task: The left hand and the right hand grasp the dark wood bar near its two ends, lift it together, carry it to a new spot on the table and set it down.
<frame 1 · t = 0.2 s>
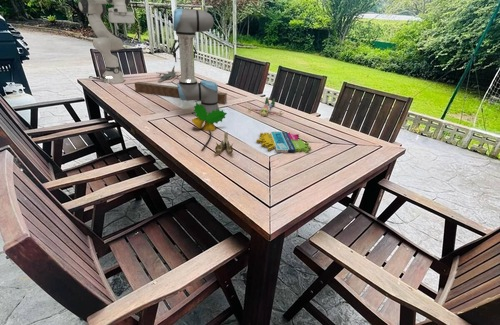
left hand: (123, 29, 214), 48 cm above the table, tool pointing down, fingers open, 8 cm apart
right hand: (184, 62, 211), 28 cm above the table, tool pointing down, fingers open, 13 cm apart
bar: (180, 97, 221), on the table
airplane: (169, 78, 279), on the table
toy: (266, 111, 203), on the table
jawbone: (224, 151, 138), on the table
ornament: (209, 128, 165), on the table
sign: (281, 143, 152), on the table
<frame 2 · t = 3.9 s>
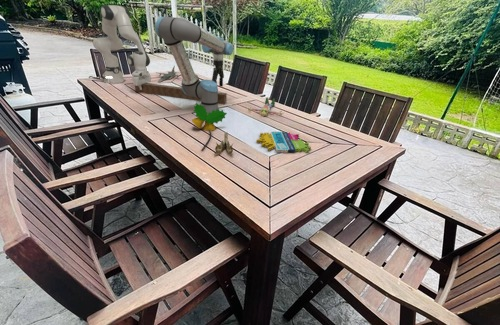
left hand: (143, 89, 226), 3 cm above the table, tool pointing down, fingers closed on bar, 5 cm apart
right hand: (218, 88, 209), 12 cm above the table, tool pointing down, fingers open, 13 cm apart
bar: (180, 97, 221), on the table, touching left hand
everything else where it was.
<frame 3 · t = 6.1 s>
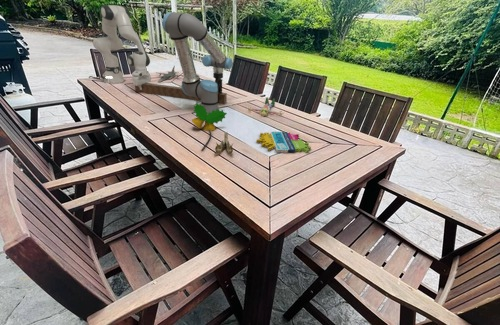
left hand: (143, 89, 226), 3 cm above the table, tool pointing down, fingers closed on bar, 5 cm apart
right hand: (218, 101, 214), 1 cm above the table, tool pointing down, fingers closed on bar, 6 cm apart
bar: (180, 97, 221), on the table, touching right hand, left hand
everything else where it was.
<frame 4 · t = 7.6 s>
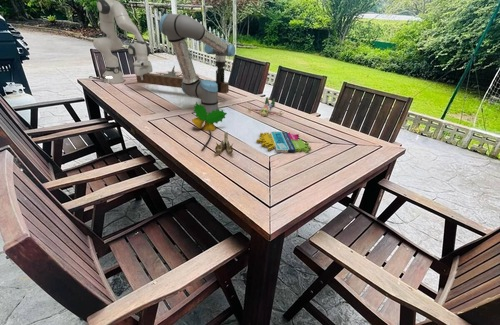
left hand: (145, 79, 225), 10 cm above the table, tool pointing down, fingers closed on bar, 5 cm apart
right hand: (220, 91, 213), 9 cm above the table, tool pointing down, fingers closed on bar, 6 cm apart
bar: (181, 87, 219), point 8 cm above the table, touching right hand, left hand
everything else where it was.
when the right hand's fingers open (2 cm above the table, at t = 11.1 s): bar stays where it is, on the table.
when the left hand's fingers open (4 cm above the table, at t = 11.3 s): bar stays where it is, on the table.
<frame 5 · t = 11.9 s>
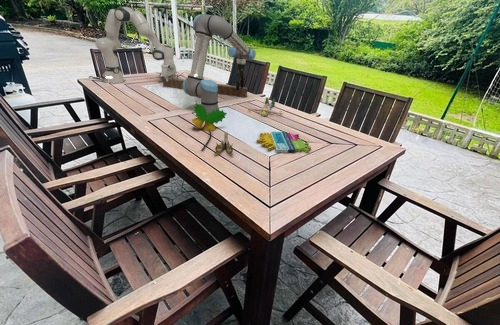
left hand: (170, 80, 246), 6 cm above the table, tool pointing down, fingers open, 8 cm apart
right hand: (239, 88, 233), 6 cm above the table, tool pointing down, fingers open, 13 cm apart
bar: (204, 91, 243), on the table
everything else where it was.
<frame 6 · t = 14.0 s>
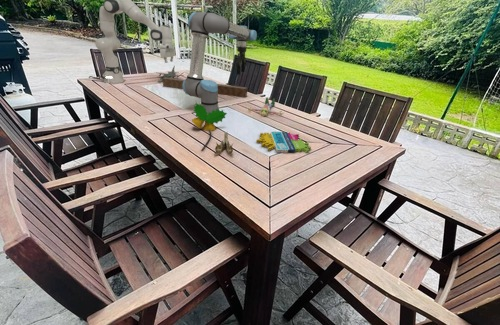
left hand: (169, 62, 238), 22 cm above the table, tool pointing down, fingers open, 8 cm apart
right hand: (240, 73, 227), 20 cm above the table, tool pointing down, fingers open, 13 cm apart
nothing on the table moved.
at the end: bar inside the target area (0.4 cm from its centre), on the table; bar tilted 0°; bar never tilted more than 1° during the clip; both hands held the bar at the same time; the left hand is holding nothing; the right hand is holding nothing; bar at rest at the end (0.0 cm/s) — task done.
